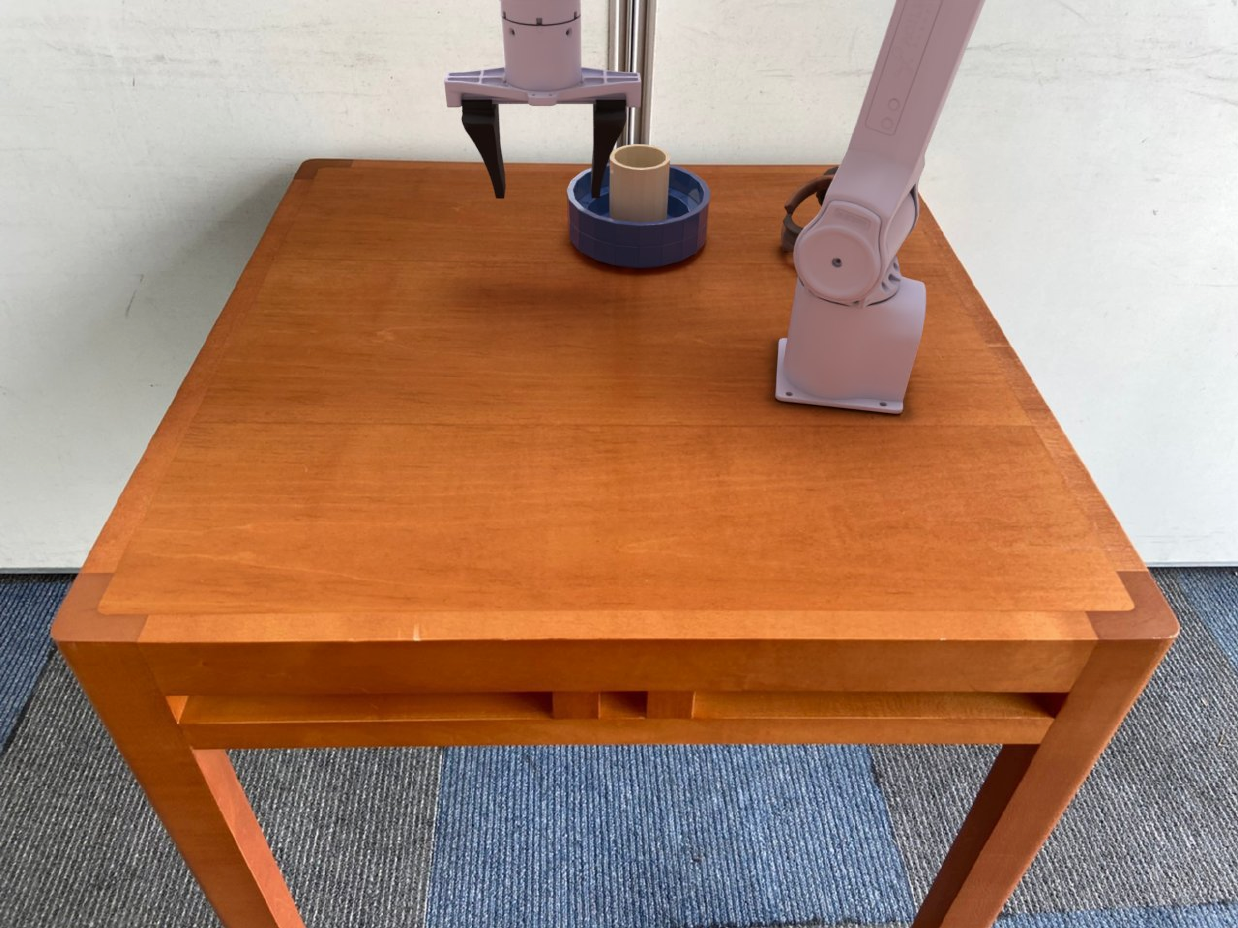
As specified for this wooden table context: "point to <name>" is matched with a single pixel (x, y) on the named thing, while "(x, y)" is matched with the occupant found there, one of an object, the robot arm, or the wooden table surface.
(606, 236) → the bowl
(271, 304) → the wooden table surface
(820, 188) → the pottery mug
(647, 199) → the cup
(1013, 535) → the wooden table surface
